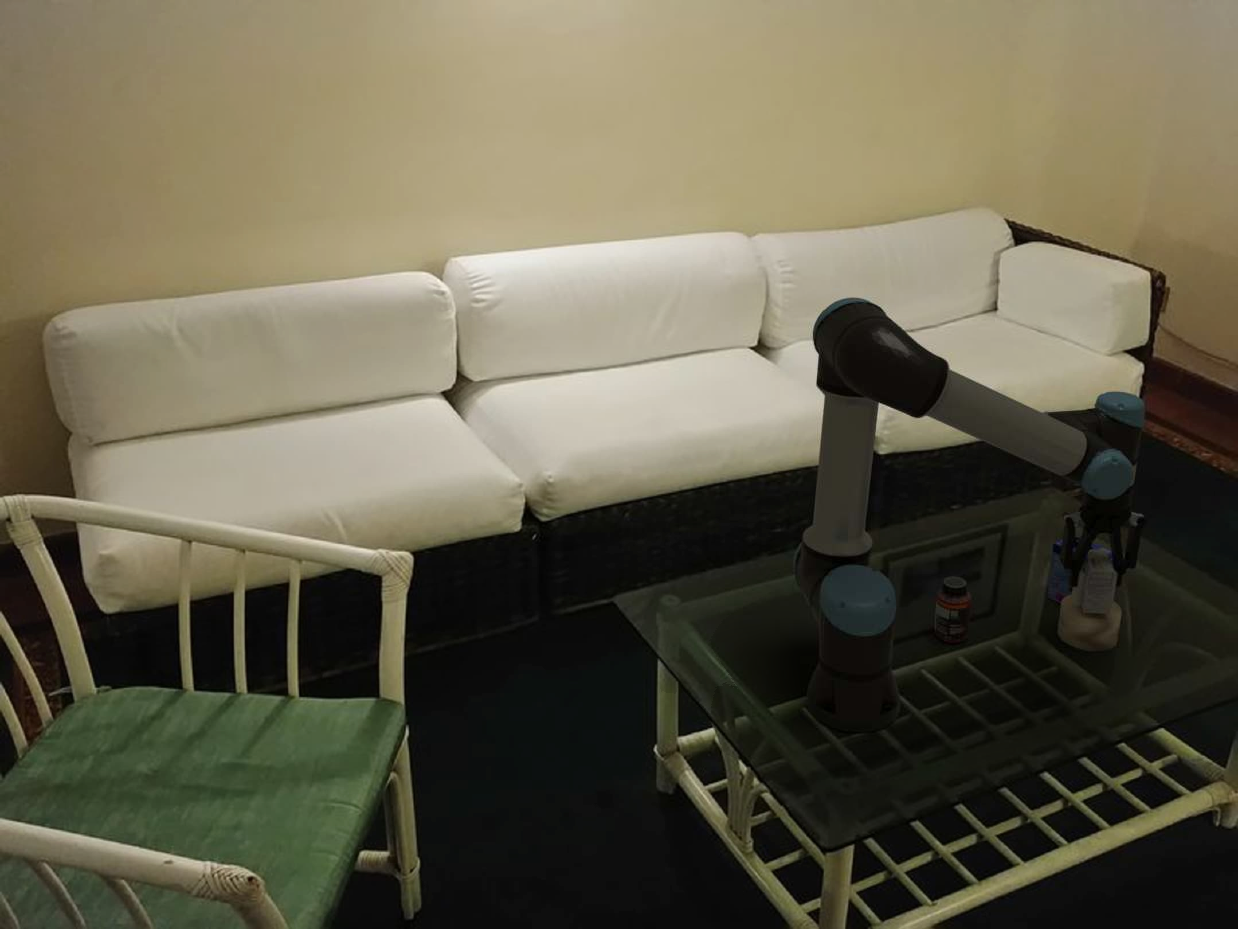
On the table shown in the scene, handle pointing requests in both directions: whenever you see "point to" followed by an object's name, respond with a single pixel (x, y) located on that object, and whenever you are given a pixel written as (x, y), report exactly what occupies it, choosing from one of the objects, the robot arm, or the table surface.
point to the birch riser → (1088, 626)
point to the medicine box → (1097, 582)
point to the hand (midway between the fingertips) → (1091, 601)
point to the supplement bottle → (952, 611)
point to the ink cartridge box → (1064, 571)
